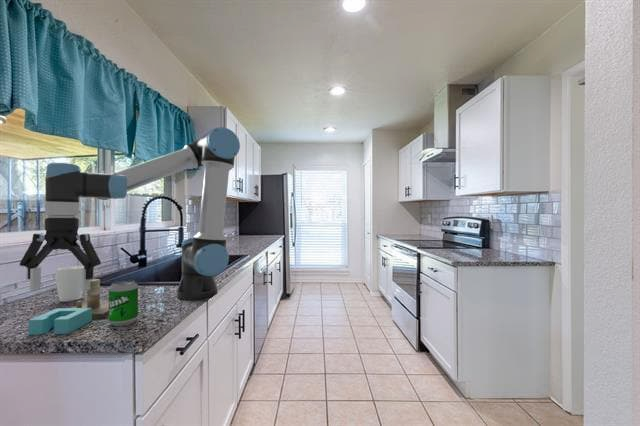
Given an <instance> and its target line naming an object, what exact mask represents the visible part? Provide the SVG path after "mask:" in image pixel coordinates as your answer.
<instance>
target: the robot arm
mask: <svg viewBox="0 0 640 426" xmlns="http://www.w3.org/2000/svg"><path fill="white" fill-rule="evenodd" d="M240 147H241V143H240V140H239V138H238V136H237V135H236V133H235V132H234V131H233V130H231V129H229V128H227V127H223V126H221V127H220V126H219V127H216V128H212V129H210V130H209V131H208V132H207V133H206V134H204V135H202V136H200V137H199V138H198V139H196V140H194V141H192V142H191V143H188V144H186V145H184V147H183V148H182V149H179V150H176V151H173V152H170V153H167V154H164V155H162V156H158V157H156V158H153V159H150V160H147V161H144V162H142V163H137V164H136V165H133V166H130V167H129V166H128V167H127V168H124V169H121V170H117V171H115V172H112V173H97V172H85V171H81V167H80V165H78V164H75V163H68V162H50V163H48V164H47V166H46V171H45V185H44V186H45V193H44V194H45V200H44V202H45V203H44V215H45V216H47V217H45V218H44V230H45V233H43V232H41V233H40V232H39V233H33V234H32V239H31V243H30V244H29V246H28V248H27V250H26V251H25V253H24V255H23V256H22V258H21V260H20V262H19V266H20V267H25V268H27V280H29V293H34V292H37V291H40V290H42V289H41V288H42V287H41V286H42V285H41V284H42V281H41V280H42V267H41V266H40V264H41V263H42V262H43V261H44V260H45V259H46V258H47V257H48V256H49V254H50V253H52V251H54V250H56V251H57V250H65V251H66V250H68V251H69V252H71V253H72V255H74V257H75V258H76V259H77V260H78V261H79V262H80V264H81V266H84V268H83V269H82V274H81V292H83V293H85V292H87V290H90V280H93V279H94V268H95V267H97V266H101V264H102V262H101V259H100V258H99V255H98V254H97V251H96V250H95V247H94V246H93V244H92V241H91V235H90V234H89V233H82V234H79V233H78V231H79V227H80V219H79V218H78V216H79V215H80V214H79V213H80V198H96V199H97V200H102V201H107V200H110V199H111V200H112V199H113V200H114V199H115V200H117V199H125V198H126V197H127V194H128V192H130V191H133V190H135V189H138V188H140V187H143V186H146V185H148V184H151V183H155V182H156V181H158V180H159V181H160V180H161V179H164V178H167V177H169V176H172V175H175V174H177V173H181V172H182V171H185V170H188V169H192V168H193V169H198V168H200V167H203V168H204V175H203V182H202V183H203V185H202V194H201V204H200V212H199V213H200V214H199V223H198V232H197V233H196V234H195V235H193V237H190V238H188V237H187V238H184V239H183V240H182V242H181V247H180V248H181V279H180V281H179V284H178V287H177V291H176V298H177V299H180V300H187V301H195V300H203V299H208V298H209V299H210V298H212V297H215V296H217V294H218V286H217V283H216V280H215V278H214V277H215V276H218V275H219V274H220V273H222V272H223V271H224V270H226V268H227V266H228V264H229V261H230V256H229V252H228V251H227V248H226V247H227V238H226V237H225V236H224V226H225V214H226V204H227V197H228V196H227V194H228V188H229V187H228V186H229V184H228V183H229V174H230V171H231V170H232V169H234V167H235V157H237V156H238V154H239V152H240ZM44 241H46V243H45V244H44V245H43V243H44ZM77 241H79V242H80V245H81V246H80V245H79V243H78V242H77ZM81 247H82V248H83V249H82V248H81ZM40 248H41V249H40Z"/></svg>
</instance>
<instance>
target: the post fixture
mask: <svg viewBox="0 0 640 426" xmlns="http://www.w3.org/2000/svg"><path fill="white" fill-rule="evenodd" d="M86 299H87V301H82V300H76V304H75V305H74V306H72V307H71V308H92V320H93V319H104V318H106V317H108V300H103V301H102V300H101V279H99V278H95V279H94V278H92V279H90V290H87V291H86Z"/></svg>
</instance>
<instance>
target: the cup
mask: <svg viewBox="0 0 640 426" xmlns="http://www.w3.org/2000/svg"><path fill="white" fill-rule="evenodd" d="M83 268H84V266H83V265H70V266H61V267H58V268H55V277H54V278H55V284H56V290H57V295H58V300H59V301H60V302H62V303H63V302H64V303H65V302H75V301H79V300H81V299H82V297H83V294H84V292H81V274H82V269H83Z"/></svg>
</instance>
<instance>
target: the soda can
mask: <svg viewBox="0 0 640 426" xmlns="http://www.w3.org/2000/svg"><path fill="white" fill-rule="evenodd" d="M107 299H108V300H107V301H108V316H107V317H108V318H107V319H108V321H107V322H108V324H111V325H112V326H114V327H123V326H128V325H131V324H133V323H135V321H136V320H138V317H139V284H138V283H136V282H135V280H123V281H116V282H114V283H111V285H110V286H109V287H108V298H107Z"/></svg>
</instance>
